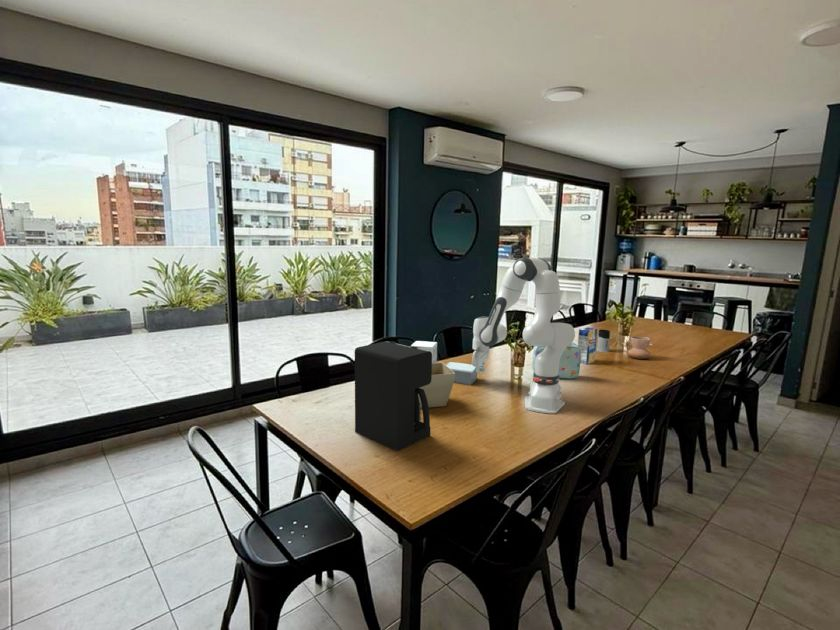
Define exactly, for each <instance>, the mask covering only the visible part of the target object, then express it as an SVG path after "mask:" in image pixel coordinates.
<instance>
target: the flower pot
mask: <svg viewBox="0 0 840 630" xmlns="http://www.w3.org/2000/svg"><path fill="white" fill-rule="evenodd" d="M454 377H455V373H454V372H453V371H452V370H451V369H450V368H448V367H447V366H446V364H445V363H444V362H437V363H432V379H431V383H430V384H428V385H426V386H423V387H420V388H421V389H424V391H425V394H426V397H427V401H428V407H429V408H437V407H438V408H440V407H445V406H447V403H448V401H449V399H450V396H451V393H452V390H453V385H454ZM418 396H419V394H418ZM419 402H420V403H421V400H420V396H419ZM421 409H422V404H421Z"/></svg>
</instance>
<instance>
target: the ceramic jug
mask: <svg viewBox="0 0 840 630" xmlns="http://www.w3.org/2000/svg"><path fill="white" fill-rule="evenodd" d="M629 337H630V339H628V340H626V341H625V348H626V353H627V356H629V357H630V358H632V359H636V360H645V359H649V358H650V357H651V356H652V354H651V353H652V352H650V351H649V350H648V349H647V348H648V347H649V346H650V347H652V346H653V343H650V342H651V338H649V337H645V336H638V335H637V336H636V335H635V336H629ZM629 343H630V344H631V346H632V347H631V348H629V345H628V344H629Z"/></svg>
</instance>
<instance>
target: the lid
mask: <svg viewBox="0 0 840 630" xmlns="http://www.w3.org/2000/svg"><path fill="white" fill-rule="evenodd" d="M445 365H446V366H447V367H448V368H450V369H451V370H455V371H462V372H469V373H472V372H473V371H476V367H475V366H472V363H471V364H469V363H463V362H462V363H461V362H453V361H449V362H447V363H446V364H445ZM480 372H486V367H485V366H484V367H480Z"/></svg>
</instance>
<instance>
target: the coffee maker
mask: <svg viewBox="0 0 840 630" xmlns="http://www.w3.org/2000/svg"><path fill="white" fill-rule="evenodd" d="M353 352H354V433H355V434H358V435H360V436H363V437H364V438H367V439H369V440H371V441H374V442H376V443H378V444H380V445H383V446H385V447H387V448H390V449H392V450H394V451H396V452H399V451H402V450H404V449H406V448H408V447H410V446H412V445H414V444H416V443H418V442H421V441H423V440H425V439H427V438H428V437H430V436H431V422H430V421H431V419H430V416H431V415H430V409H429V407H428V401H427V397H426V394H425V391H424V389H421V388H420V387H423V386H426V385H428V384H430V383H431V379H432V353H431V352H430V351H427V350H422V349H418V347H415V346H413V347H411V346H408V345H404V344H399V343H397V342H395V341H381V342H376V343H371V344H368V345H363V346H358V347H356V348H355V349H354V351H353ZM418 394H419V396H420V400H421V403H420V402H419V396H418ZM421 404H422V408H421ZM421 414H422V415H421ZM421 416H422V417H421ZM422 418H423V419H422ZM422 420H423V421H422Z"/></svg>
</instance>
